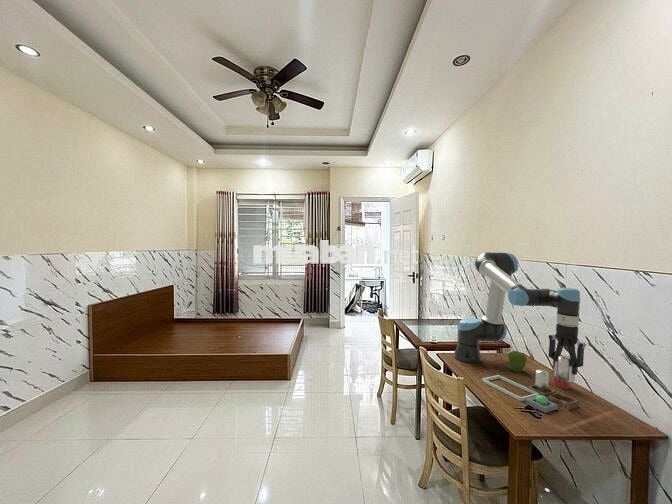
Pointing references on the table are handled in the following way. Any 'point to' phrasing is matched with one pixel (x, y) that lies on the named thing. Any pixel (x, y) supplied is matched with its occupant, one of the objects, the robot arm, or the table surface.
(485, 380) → the tray
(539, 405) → the grey square button housing
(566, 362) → the cylinder
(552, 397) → the tray
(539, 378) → the cylinder
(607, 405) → the table surface
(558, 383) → the beer can
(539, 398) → the button
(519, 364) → the apple
